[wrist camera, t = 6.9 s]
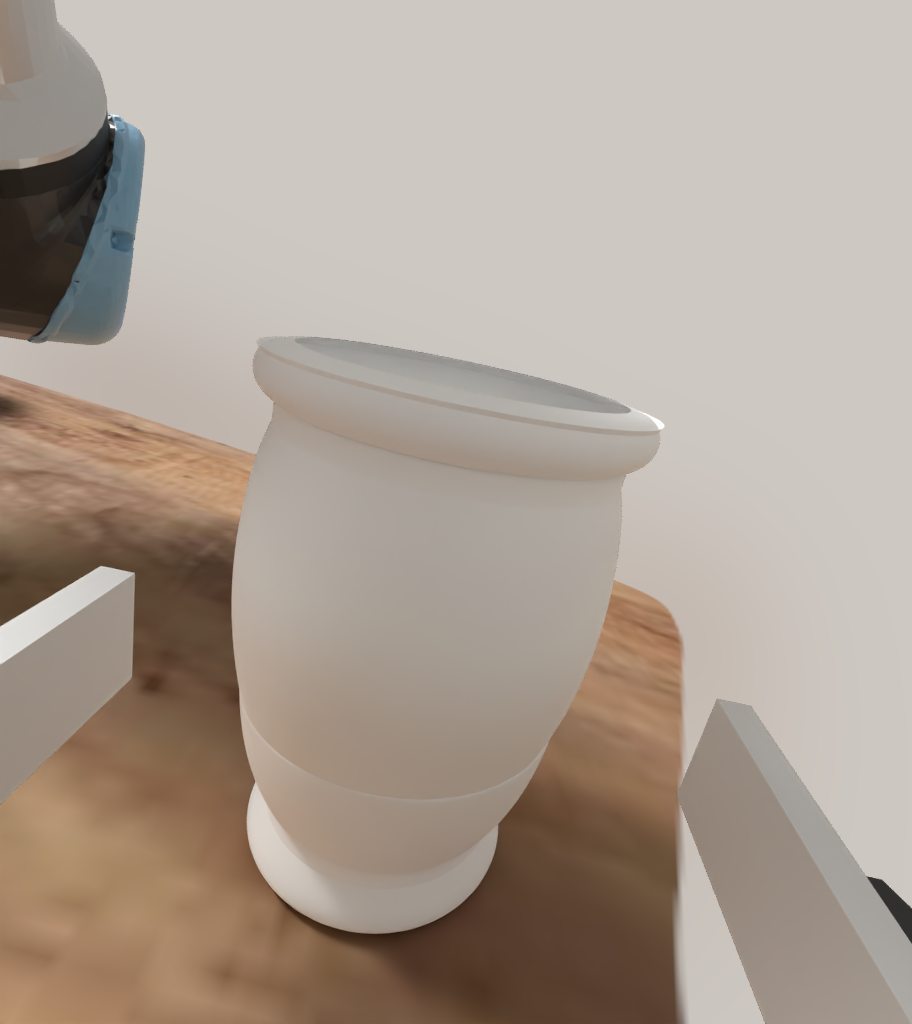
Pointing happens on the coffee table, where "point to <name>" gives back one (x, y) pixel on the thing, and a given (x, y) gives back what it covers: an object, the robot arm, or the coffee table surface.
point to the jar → (413, 613)
